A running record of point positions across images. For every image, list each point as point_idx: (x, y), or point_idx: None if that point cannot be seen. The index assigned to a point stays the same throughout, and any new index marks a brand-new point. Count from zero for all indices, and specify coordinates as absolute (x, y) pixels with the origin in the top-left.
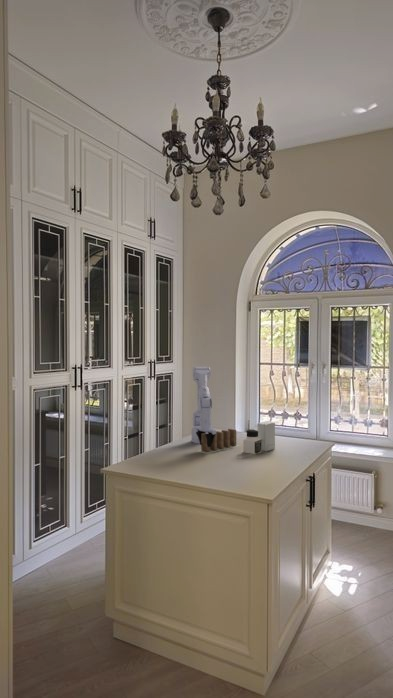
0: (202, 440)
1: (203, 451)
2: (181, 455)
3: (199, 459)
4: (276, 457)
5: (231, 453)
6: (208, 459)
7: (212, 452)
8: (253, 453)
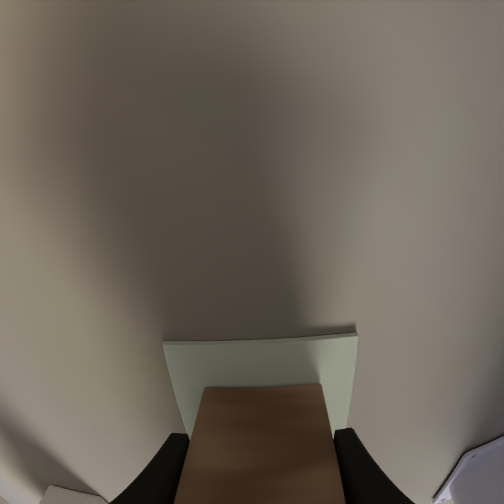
0: (311, 494)
1: (278, 382)
2: (329, 50)
3: (41, 142)
4: (5, 475)
5: (106, 466)
6: (7, 226)
7: (181, 415)
8: (52, 488)
